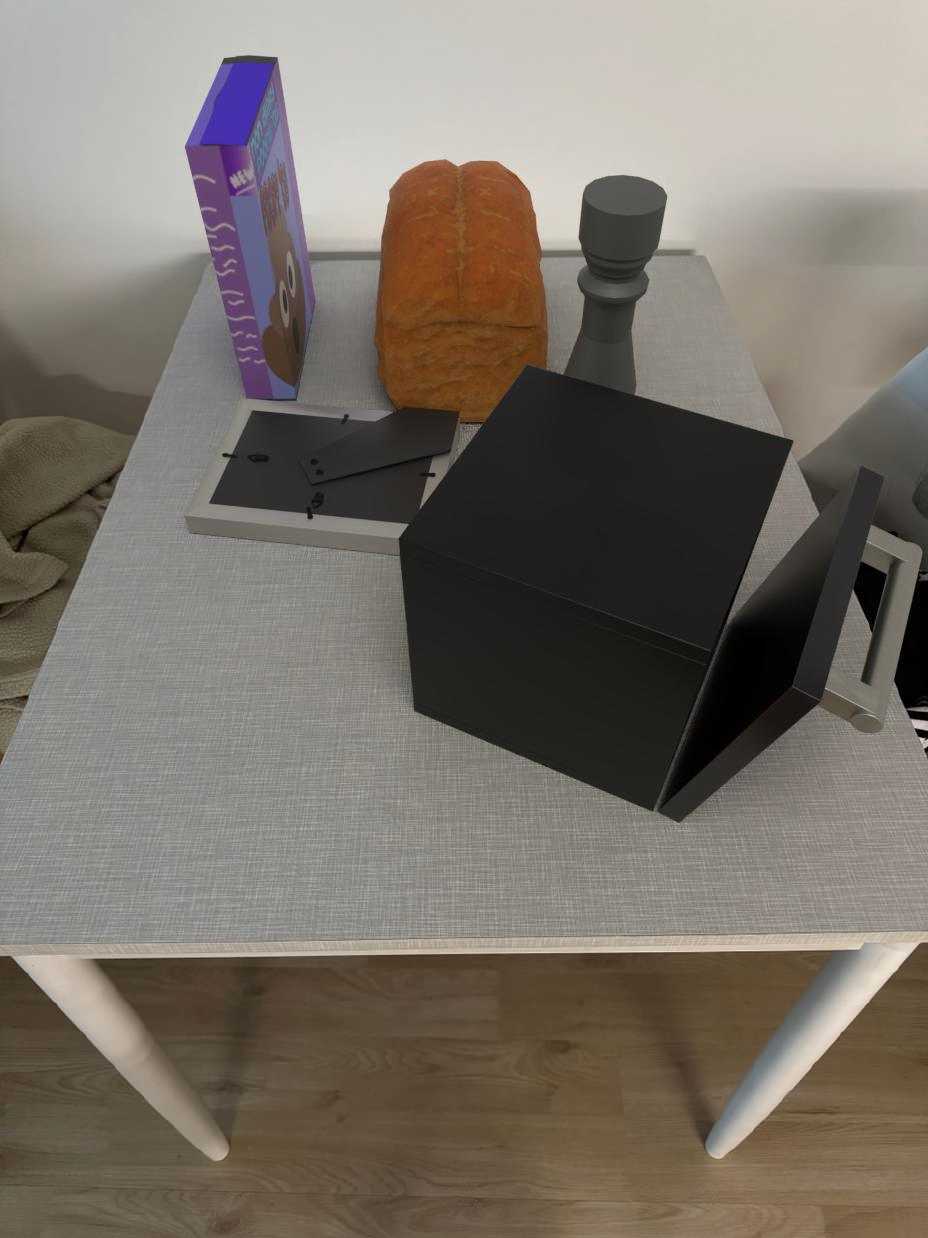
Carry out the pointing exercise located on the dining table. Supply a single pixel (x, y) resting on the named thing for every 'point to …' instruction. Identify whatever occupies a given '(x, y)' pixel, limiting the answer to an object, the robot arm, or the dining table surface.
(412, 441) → the picture frame
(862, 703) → the oven door
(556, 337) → the dining table surface
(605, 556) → the oven
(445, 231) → the bread
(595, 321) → the candle holder
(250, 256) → the cereal box
